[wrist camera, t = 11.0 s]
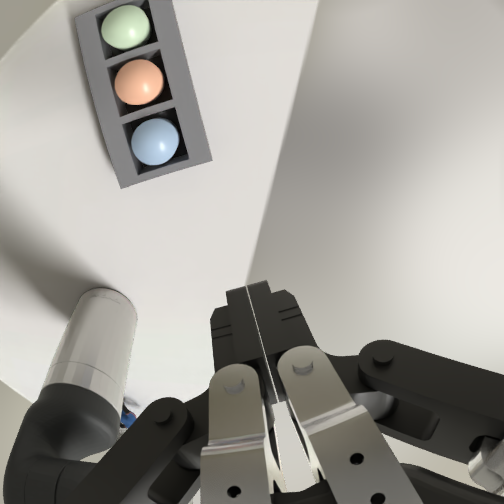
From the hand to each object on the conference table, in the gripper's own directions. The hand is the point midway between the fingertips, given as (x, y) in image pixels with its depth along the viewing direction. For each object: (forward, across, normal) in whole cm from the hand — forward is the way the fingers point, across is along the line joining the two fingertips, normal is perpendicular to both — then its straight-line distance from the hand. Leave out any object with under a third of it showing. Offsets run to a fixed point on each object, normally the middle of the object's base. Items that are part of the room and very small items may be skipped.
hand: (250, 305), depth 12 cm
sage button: (+26, +5, -18) cm, 32 cm away
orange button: (+26, +5, -11) cm, 28 cm away
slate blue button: (+26, +5, -5) cm, 27 cm away
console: (+27, +5, -11) cm, 30 cm away
